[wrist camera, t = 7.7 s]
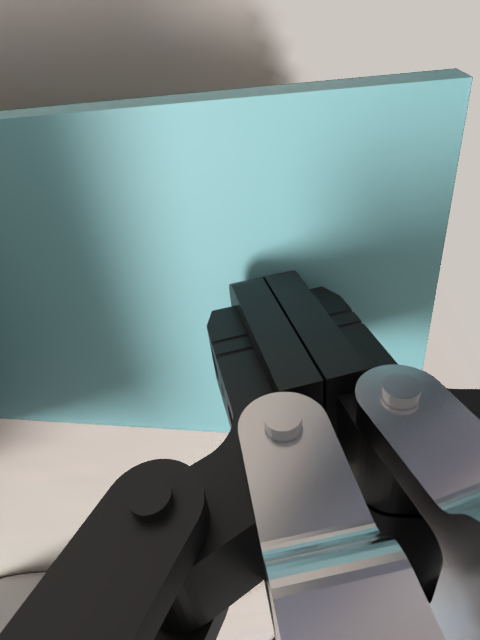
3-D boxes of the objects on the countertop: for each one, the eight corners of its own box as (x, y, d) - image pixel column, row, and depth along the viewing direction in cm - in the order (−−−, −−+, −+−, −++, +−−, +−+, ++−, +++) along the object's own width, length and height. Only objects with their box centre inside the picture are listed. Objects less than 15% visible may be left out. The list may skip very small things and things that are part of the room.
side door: (-98, 115, 11) (446, 63, 9) (32, 377, 16) (400, 393, 14) (-169, 133, 10) (472, 77, 7) (-1, 418, 15) (409, 444, 12)
